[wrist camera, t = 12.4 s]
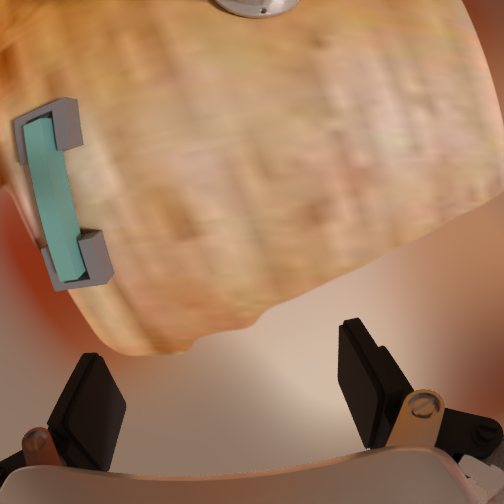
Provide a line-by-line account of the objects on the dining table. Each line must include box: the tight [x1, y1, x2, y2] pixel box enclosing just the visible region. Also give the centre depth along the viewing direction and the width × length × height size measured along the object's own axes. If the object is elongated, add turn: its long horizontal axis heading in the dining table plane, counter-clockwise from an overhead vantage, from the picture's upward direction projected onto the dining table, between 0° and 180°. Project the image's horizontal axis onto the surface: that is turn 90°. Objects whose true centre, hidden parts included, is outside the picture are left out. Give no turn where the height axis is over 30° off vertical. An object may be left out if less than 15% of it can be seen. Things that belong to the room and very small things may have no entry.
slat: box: [23, 118, 87, 282], centre depth 34 cm, size 21×3×4 cm, turn 8°
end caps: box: [14, 97, 114, 291], centre depth 36 cm, size 25×9×4 cm, turn 8°
